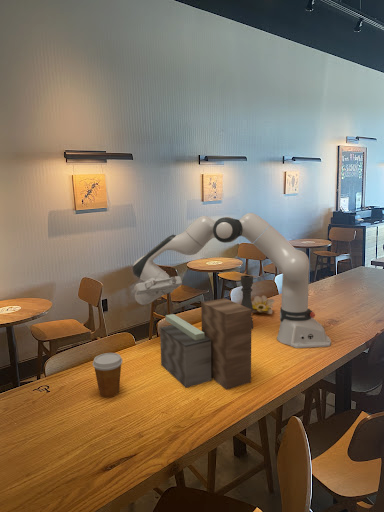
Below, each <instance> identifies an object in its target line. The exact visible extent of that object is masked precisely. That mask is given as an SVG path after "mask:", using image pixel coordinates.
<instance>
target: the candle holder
mask: <svg viewBox="0 0 384 512" xmlns="http://www.w3.org/2000/svg"><path fill="white" fill-rule="evenodd" d="M253 284H254V276H253V275H245V274H244V275H242V276H240V286H241V287H242V288H241V289H240V291H241V292H242V298H241V303H240V305H242V306H245V307H247V308H249V309H252V311H253V306H252V301H253V300H252V292H253V288H252V286H253ZM253 329H254V320H253V317H252V330H253Z"/></svg>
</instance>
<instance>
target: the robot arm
mask: <svg viewBox="0 0 384 512" xmlns="http://www.w3.org/2000/svg"><path fill="white" fill-rule="evenodd" d="M239 237H243V238H245V239H246V240H248V241H249V242H250V243H251V244H252V245H254V247H255V248H257V250H259V252H261V253H262V254H263V255H264V256H265V257H267V258H268V260H270V262H271V263H272V265H274V266H275V267H276V269H277V270H279V272H281V273H282V281H281V306H280V310H279V321H280V324H279V329H278V334H277V336H276V339H277V341H278V342H280V343H281V344H284V345H288V346H291V348H295V349H301V348H302V349H303V348H306V349H307V348H321V347H322V348H323V347H325V348H326V347H330V346H331V344H332V341H331V338H330V337H329V336H328V335H327V334H326V330H325V328H324V325H322V324H321V323H320V322H318V321H317V320H316V319H315V317H316V314H315V312H314V311H313V310H312V309H310V308H309V307H308V306H309V282H310V280H309V279H310V278H309V276H310V275H309V274H310V260H309V259H310V258H309V256H308V255H307V253H306V252H304V251H303V250H300V249H296V248H295V247H294V246H293V245H292V244H291V243H290V242H289V241H288V239H286V237H285V236H284V235H283V234H281V233H280V232H279V231H278V230H277V229H276V228H275V227H274V226H272V225H271V224H270V223H269V222H268V221H266V220H265V219H264V218H262V217H261V216H259V215H257V214H256V213H254V212H248V213H246V214H244V215H242V217H241V218H238V219H235V218H234V217H231V216H223V217H221V218H218V219H217V220H213V219H212V218H211V217H209V216H207V215H200V217H197V219H195V220H194V221H193V222H192V223H191V224H189V226H188V227H187V228H186V229H185V230H184V231H183V232H181V233H180V234H171V235H170V236H169V235H168V237H166V238H165V239H164V240H162V241H161V242H159V244H157V245H156V246H154V247H153V248H152V249H151V250H149V251H148V252H147V253H145V254H144V255H143V256H141V257H139V258H138V259H136V260H135V261H134V263H133V265H132V266H131V268H132V274H133V275H134V276H135V277H137V278H138V279H140V280H141V281H143V282H138V283H136V284H135V285H134V286H133V289H132V291H131V294H134V299H135V301H136V302H137V303H138V304H140V305H144V306H145V305H148V304H150V303H153V302H155V300H157V299H159V298H161V297H163V296H165V295H168V294H169V295H170V294H171V293H174V290H177V289H178V288H179V287H181V286H182V284H183V282H182V281H183V280H182V277H181V276H180V275H177V276H170V275H169V273H167V272H166V271H165V270H164V269H162V268H161V267H160V266H159V265H158V264H156V263H155V262H154V260H155V259H156V258H157V257H159V256H160V255H161V254H163V253H164V252H166V251H173V252H176V253H179V254H182V255H185V256H193V255H196V254H198V253H199V252H200V251H201V250H202V249H203V248H204V247H205V246H206V245H207V244H208V243H209V242H210V241H211V240H212V239H216V240H217V241H218V242H221V243H228V244H229V243H231V242H234V241H236V240H237V239H238V238H239Z"/></svg>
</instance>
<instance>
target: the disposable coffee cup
mask: <svg viewBox="0 0 384 512" xmlns="http://www.w3.org/2000/svg"><path fill="white" fill-rule="evenodd" d="M122 364H123V358H122V356H121V355H120V354H118V353H116V352H106V353H101V354H99V355H96V356H95V357H94V358H93V362H92V366H93V368H94V372H95V373H94V374H95V377H96V382H97V386H98V387H97V388H98V392H99V396H100V397H103V398H113V397H115V396H117V395H118V394H119V392H120V381H121V372H122V371H121V370H122Z"/></svg>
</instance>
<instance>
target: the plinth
mask: <svg viewBox="0 0 384 512" xmlns="http://www.w3.org/2000/svg"><path fill="white" fill-rule="evenodd" d="M200 305H201V307H200V308H201V309H200V310H201V331H202V332H204V336H206V337H208V338H209V339H211V380H213V381H214V382H216V383H217V384H218V385H220V386H221V387H222V388H224V389H225V390H227V391H228V390H230V389H234V388H237V387H241V386H245V385H247V384H250V383H252V330H253V329H252V320H253V319H252V318H253V316H252V314H253V313H252V309H249V308H247V307H245V306H242V305H241V303H238V302H235V301H233V300H231V299H228V298H225V297H224V298H219V299H213V300H206V301H201V304H200Z"/></svg>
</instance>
